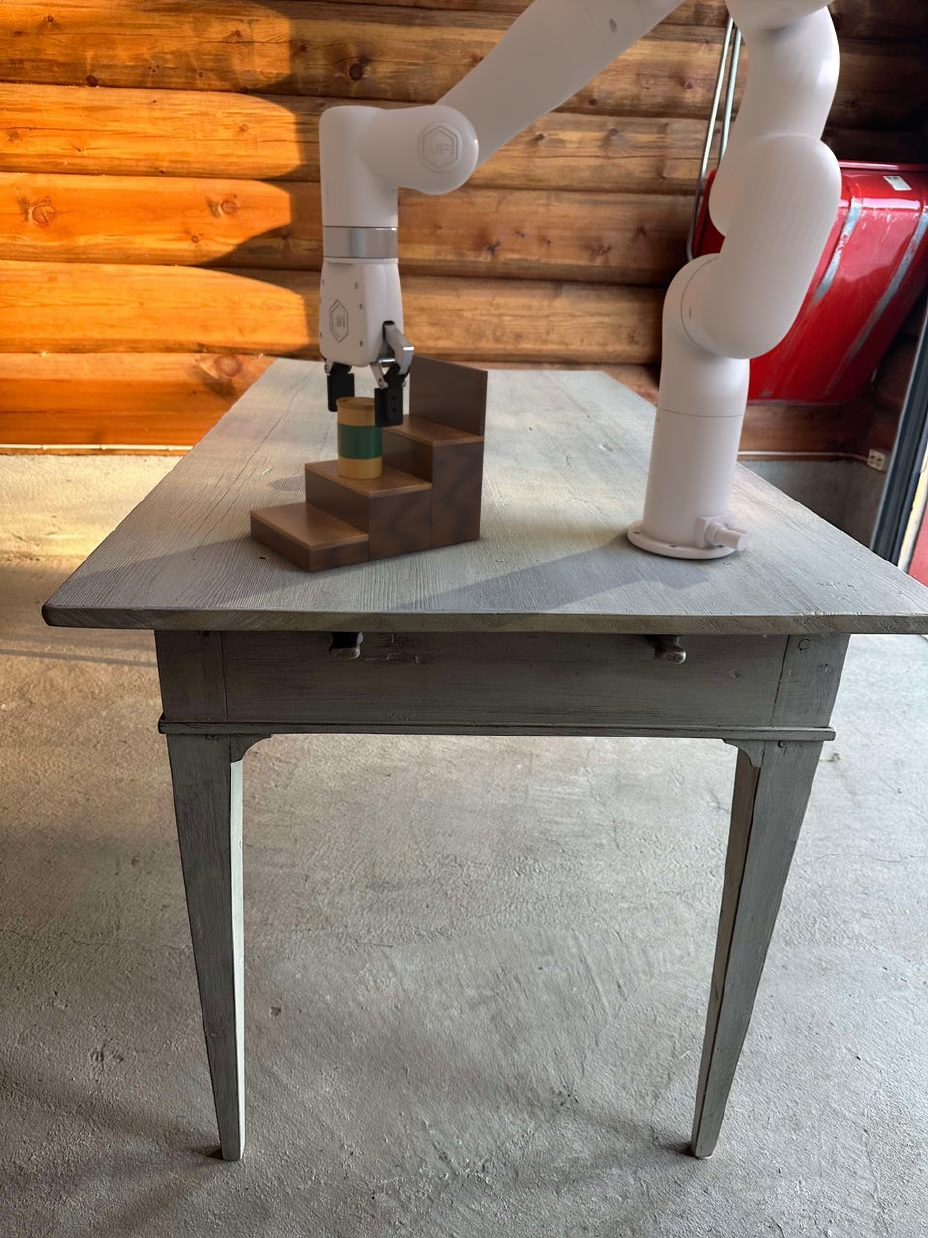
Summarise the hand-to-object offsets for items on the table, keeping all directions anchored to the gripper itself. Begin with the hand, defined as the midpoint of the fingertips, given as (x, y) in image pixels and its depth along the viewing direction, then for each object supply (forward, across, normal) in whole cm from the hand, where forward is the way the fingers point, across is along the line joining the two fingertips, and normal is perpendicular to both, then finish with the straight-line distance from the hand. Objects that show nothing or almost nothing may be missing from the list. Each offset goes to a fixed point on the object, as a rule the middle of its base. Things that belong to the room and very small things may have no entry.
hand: (364, 418), depth 98 cm
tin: (+6, 0, 0) cm, 6 cm away
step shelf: (+14, 0, 0) cm, 14 cm away
